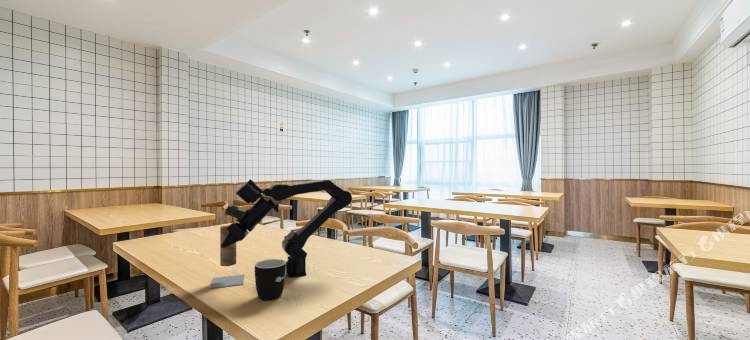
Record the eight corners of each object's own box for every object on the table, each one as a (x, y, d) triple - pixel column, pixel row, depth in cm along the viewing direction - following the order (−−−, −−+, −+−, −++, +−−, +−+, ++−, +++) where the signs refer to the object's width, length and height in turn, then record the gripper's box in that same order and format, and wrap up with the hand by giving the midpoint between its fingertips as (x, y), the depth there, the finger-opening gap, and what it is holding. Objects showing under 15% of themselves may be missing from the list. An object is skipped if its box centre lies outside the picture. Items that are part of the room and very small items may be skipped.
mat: (244, 275, 112) (244, 274, 112) (243, 284, 103) (243, 283, 103) (213, 278, 108) (213, 277, 108) (209, 288, 99) (209, 287, 99)
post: (234, 261, 109) (235, 224, 109) (237, 264, 105) (237, 226, 105) (219, 263, 107) (219, 226, 107) (221, 267, 102) (221, 228, 103)
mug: (276, 304, 88) (276, 268, 88) (248, 301, 89) (248, 266, 90) (295, 288, 99) (295, 257, 100) (269, 286, 101) (270, 255, 101)
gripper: (246, 194, 116) (214, 224, 114) (233, 198, 98) (195, 234, 95) (268, 214, 118) (237, 244, 115) (259, 222, 99) (223, 258, 97)
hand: (224, 245), depth 106 cm, fingers closed on post, 5 cm apart
